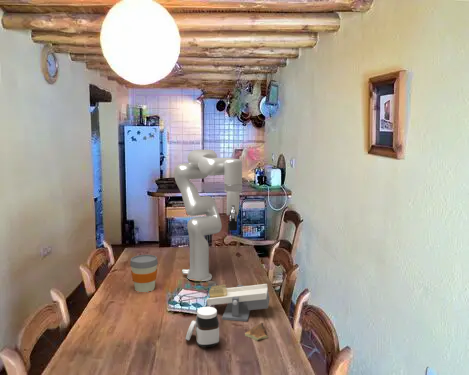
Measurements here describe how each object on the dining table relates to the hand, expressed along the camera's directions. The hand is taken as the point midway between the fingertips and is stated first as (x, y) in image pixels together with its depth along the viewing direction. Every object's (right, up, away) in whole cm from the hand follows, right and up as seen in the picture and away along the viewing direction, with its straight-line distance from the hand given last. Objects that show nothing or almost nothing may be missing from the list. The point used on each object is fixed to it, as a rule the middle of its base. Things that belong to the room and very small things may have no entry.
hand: (233, 227), depth 169 cm
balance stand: (+2, -34, -6) cm, 35 cm away
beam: (+3, -32, -6) cm, 33 cm away
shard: (+8, -37, -24) cm, 45 cm away
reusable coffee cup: (-42, -31, +17) cm, 55 cm away
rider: (-6, -28, -6) cm, 29 cm away
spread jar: (-11, -37, -30) cm, 49 cm away
